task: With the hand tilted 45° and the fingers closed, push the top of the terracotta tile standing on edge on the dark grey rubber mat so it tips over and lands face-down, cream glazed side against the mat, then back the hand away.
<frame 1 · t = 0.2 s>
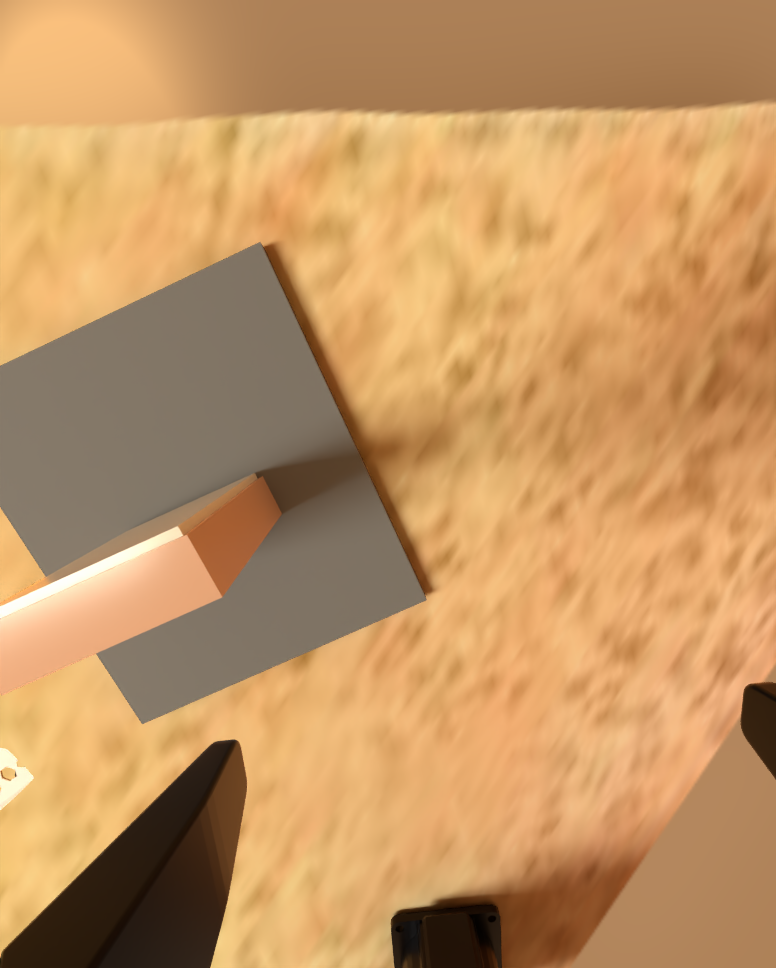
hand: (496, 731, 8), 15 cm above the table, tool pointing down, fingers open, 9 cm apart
mat: (200, 503, 22), on the table
tile: (205, 525, 21), point 1 cm above the table, touching mat
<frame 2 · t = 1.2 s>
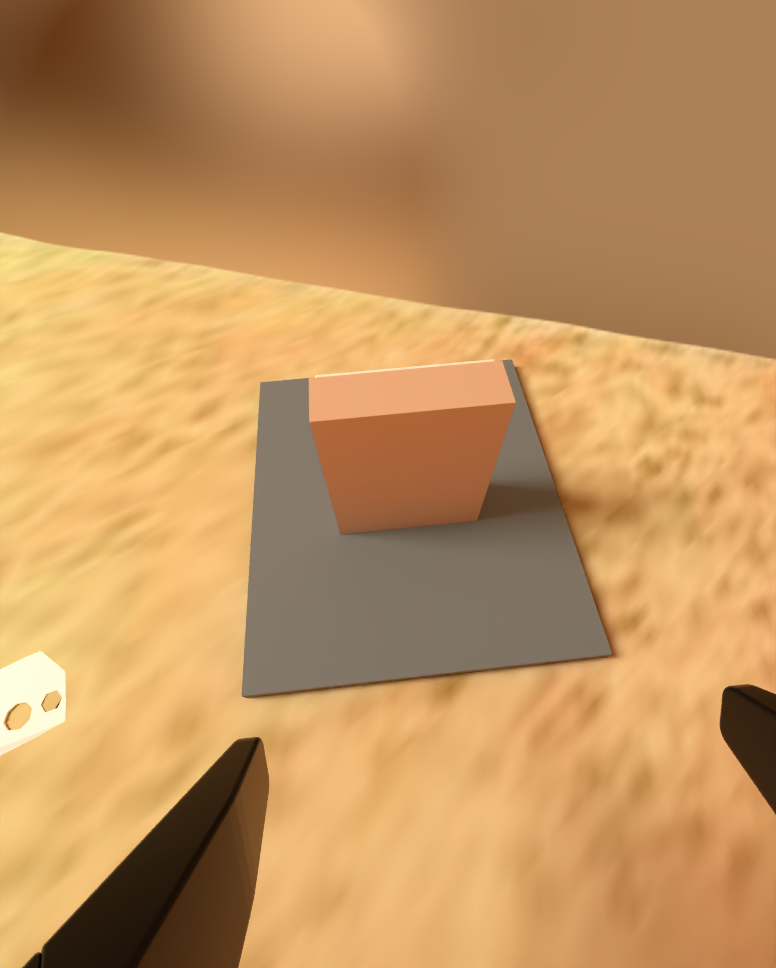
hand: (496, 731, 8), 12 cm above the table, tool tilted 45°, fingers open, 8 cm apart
mat: (404, 499, 24), on the table
tile: (406, 510, 23), point 1 cm above the table, touching mat
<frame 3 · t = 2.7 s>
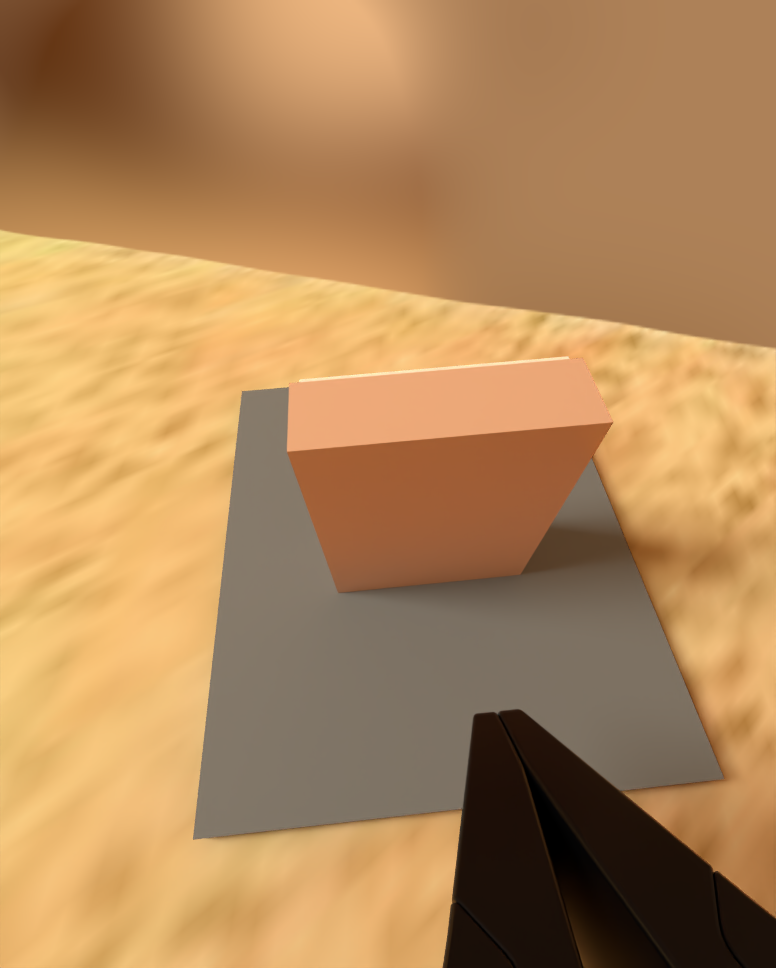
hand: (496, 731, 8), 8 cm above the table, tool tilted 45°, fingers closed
mat: (422, 542, 19), on the table
tile: (426, 559, 18), point 1 cm above the table, touching mat
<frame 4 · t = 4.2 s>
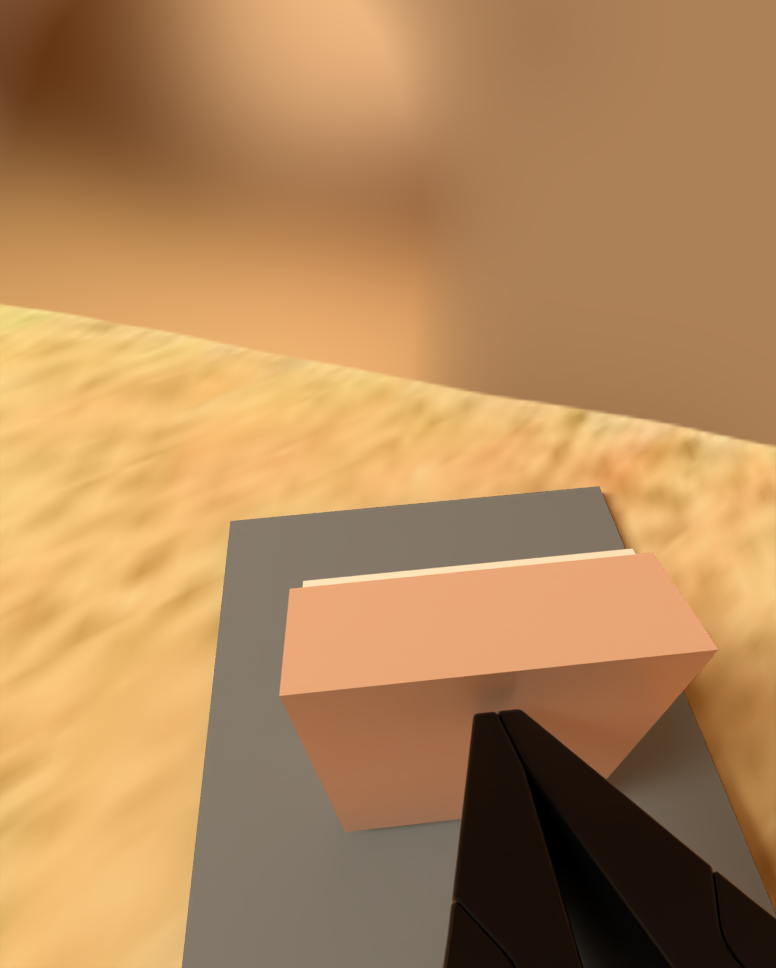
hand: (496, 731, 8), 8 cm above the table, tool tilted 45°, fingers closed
mat: (451, 744, 15), on the table
tile: (458, 778, 14), point 1 cm above the table, tilted 16°, touching mat
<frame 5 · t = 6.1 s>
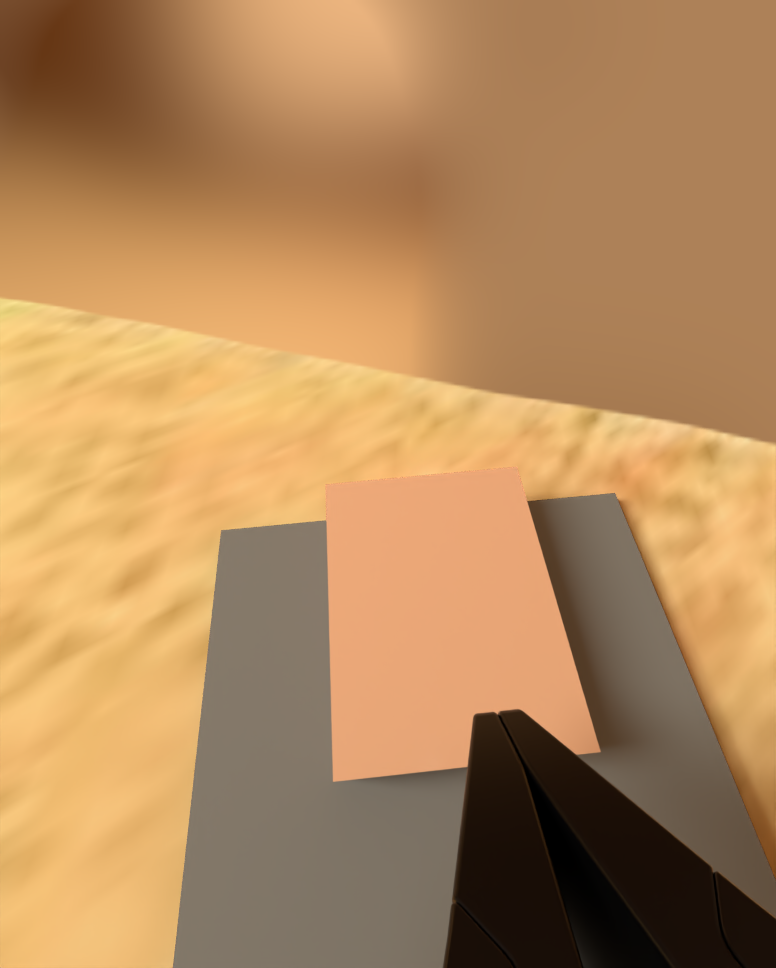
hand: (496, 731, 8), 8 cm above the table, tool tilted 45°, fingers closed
mat: (457, 775, 14), on the table
tile: (463, 766, 13), point 2 cm above the table, tilted 90°, touching mat
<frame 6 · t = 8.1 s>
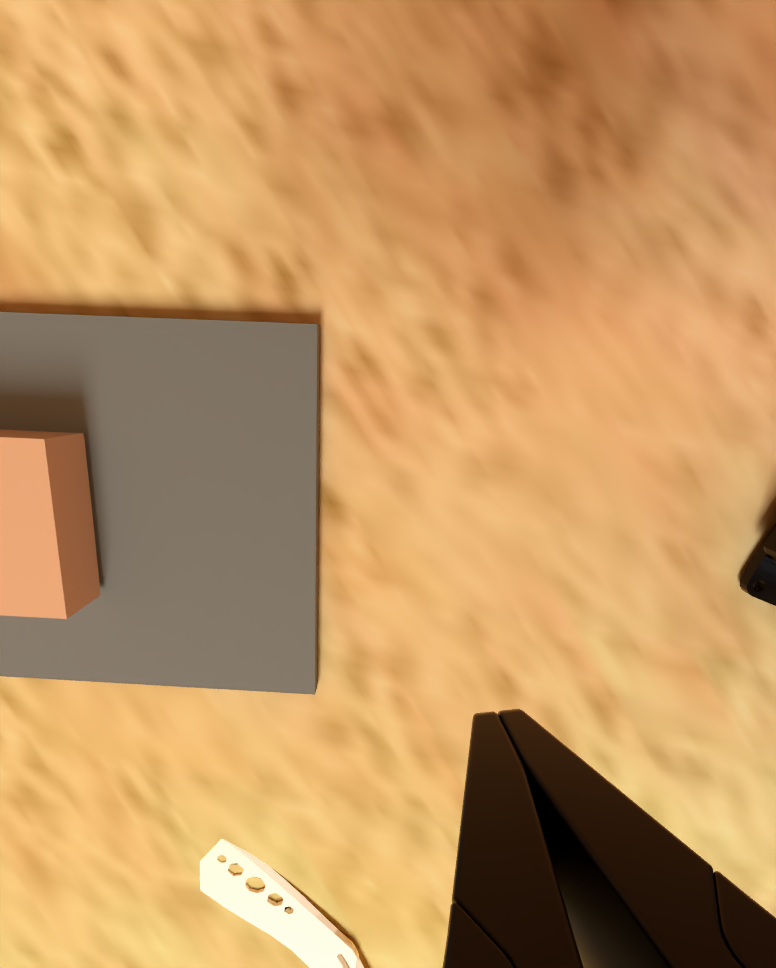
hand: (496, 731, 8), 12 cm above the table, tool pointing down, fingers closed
mat: (112, 511, 20), on the table
tile: (75, 524, 18), point 2 cm above the table, tilted 90°, touching mat
knife: (298, 954, 26), on the table
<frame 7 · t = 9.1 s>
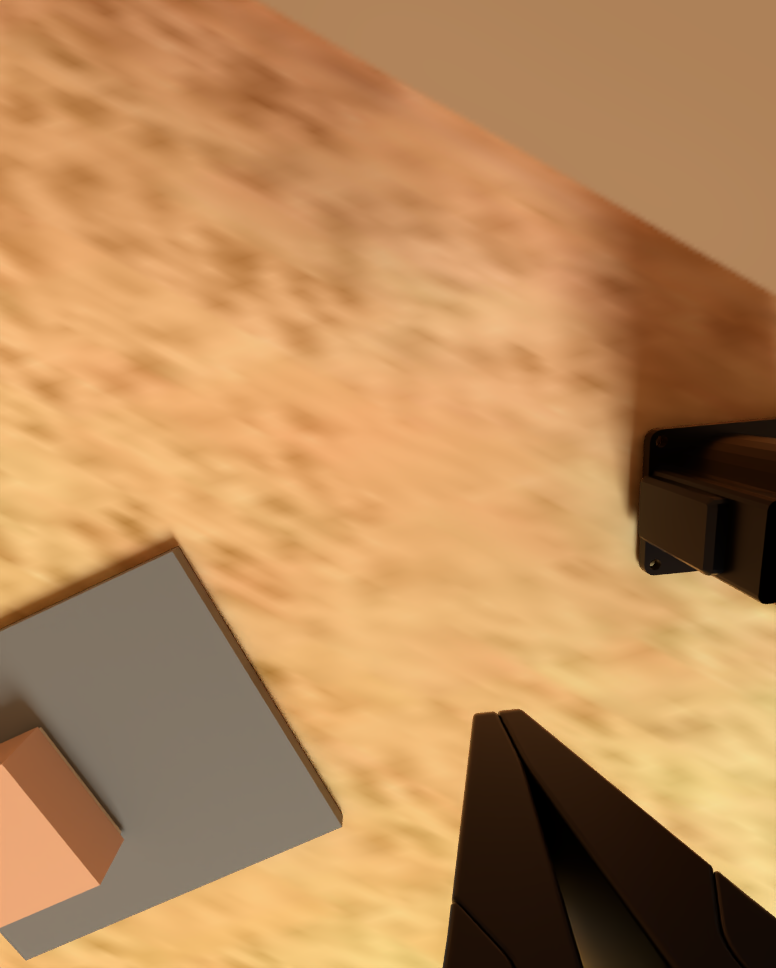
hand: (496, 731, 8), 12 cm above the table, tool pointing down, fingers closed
mat: (98, 766, 22), on the table
tile: (68, 805, 20), point 2 cm above the table, tilted 90°, touching mat
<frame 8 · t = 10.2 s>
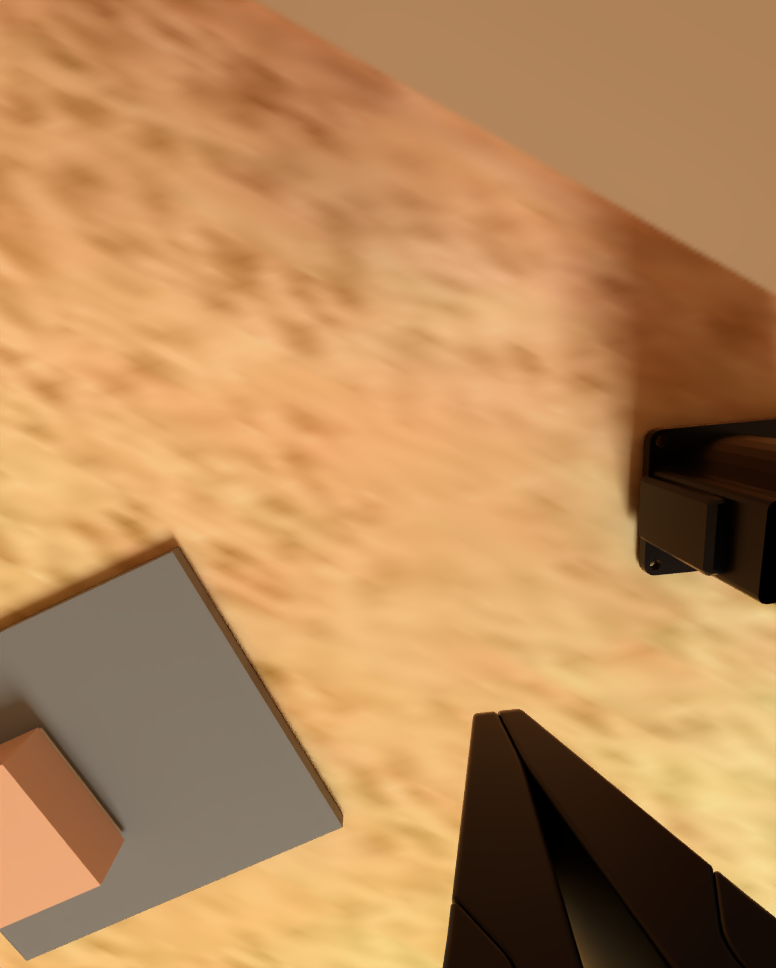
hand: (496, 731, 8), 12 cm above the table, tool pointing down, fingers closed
mat: (99, 767, 22), on the table
tile: (69, 805, 20), point 2 cm above the table, tilted 90°, touching mat
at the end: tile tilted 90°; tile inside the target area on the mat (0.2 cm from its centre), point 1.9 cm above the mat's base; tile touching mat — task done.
